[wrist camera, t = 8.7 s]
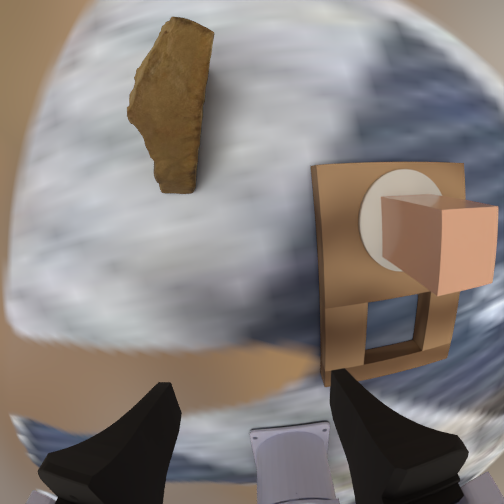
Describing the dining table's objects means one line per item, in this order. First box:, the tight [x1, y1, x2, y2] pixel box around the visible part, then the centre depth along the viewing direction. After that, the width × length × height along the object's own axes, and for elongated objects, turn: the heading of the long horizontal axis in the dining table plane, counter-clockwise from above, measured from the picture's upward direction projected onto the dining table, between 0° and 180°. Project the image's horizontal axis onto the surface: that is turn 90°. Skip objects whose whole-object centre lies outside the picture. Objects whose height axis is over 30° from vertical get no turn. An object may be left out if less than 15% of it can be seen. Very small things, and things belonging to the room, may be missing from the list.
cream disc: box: [358, 169, 442, 272], centre depth 18 cm, size 7×7×1 cm
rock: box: [127, 17, 214, 194], centre depth 16 cm, size 11×9×10 cm
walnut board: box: [311, 162, 465, 387], centre depth 20 cm, size 17×12×2 cm
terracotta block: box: [381, 194, 498, 296], centre depth 14 cm, size 4×4×7 cm
